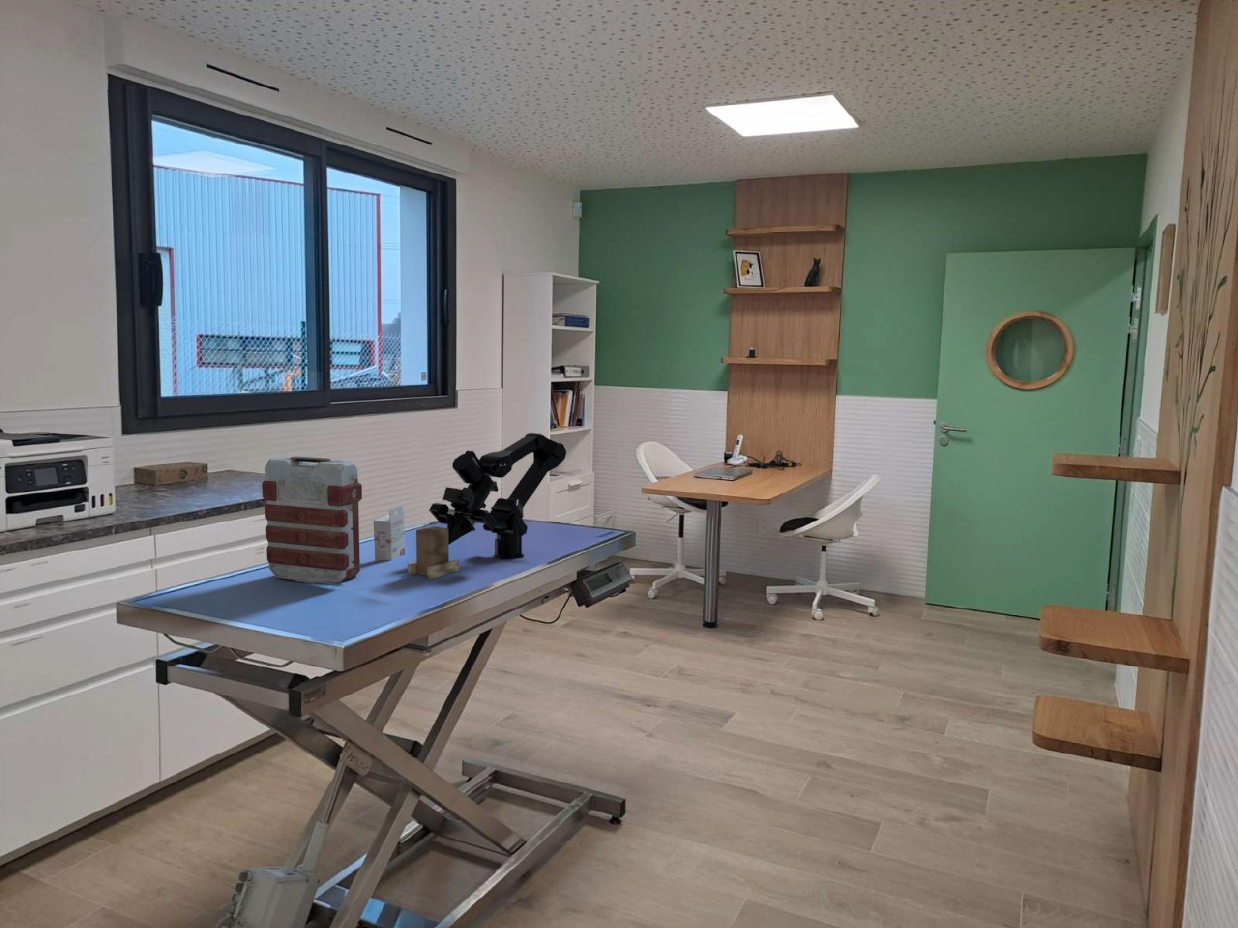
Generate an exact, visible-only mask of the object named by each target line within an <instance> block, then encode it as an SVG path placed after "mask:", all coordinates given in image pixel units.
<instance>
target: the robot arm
mask: <svg viewBox="0 0 1238 928" xmlns="http://www.w3.org/2000/svg"><path fill="white" fill-rule="evenodd" d="M530 454H533V455H532V459H533V461H532V463H531V465H530V467H529V468H528V469H527V471H526V472H525V473H524V475H523V476H522V478H521V479H520V480H519V482H518V483H517V484H516V486H515V487H514V489H513V491H512V492H511V493H510V495H508V497H507V498H502V497H499V498H498V499H496V500H495V502H494V504H493V505H492V507H491V506H490V507H491V508H490V511H488V510H487V509H485V508H486V507H487V504H486V503H485V502H486V501H487V500H488V499H487V498H488V497H489V495H490V494H491V492H494V493H497V492H499V487H498V482H497V481H495V480H493V479H492V478H498V479H499V478H500V479H502V478H505V477H506V476H507V474H508V473H510V472H511V471H512V470H513V469H512V468H513V466H514V464H515V463H518V462H519V461H521V460H522V459H523V458H525V457H527V456H529V455H530ZM566 456H567V450H566V448H565V446H564V444H563V443H561V442H558V441H555V440H553V439H551V438H548V437H546V436H545V435H543V434H541V433H535V432H529V433H526V434H525V436H523V437H521V438H520V439H519V440H516V441H515V442H514V443H512V444H510V445H509V446H506V447H505V448H504V449H502V450H499V451H493V452H489V453H485V454H483V455H481V456H480V458H478V457H477V455H476V453H475V452H474V451H473V450H466V451H465V453H462V454H460V455H459V456H457V457H456V458H454V460H453V462H452V464H451V465H452V469H453V470H454V472H456V474H457V475H458V477H460V479H461V480H462V482H463V483H464V484H468V486H467V487H463V488H462V489H461V488H454V487H447V486H446V487H445V489H444V492H443V496H442V500H443V501H447V502H449V503H450V507H451V508H449V506H448V505H447V504H446V503H445V504H444V503H439V502H434V503H432V505H430V506H429V507H430V508H429V509H428V511H429V512H430V513H431V515H432V516H433V517H434V518H435V519H436V520H437V522H439V524H443V525H447V526H446V528H448V546H450V545H451V544H452V543H454V542H455V541H457V540H459V539H461V538H463V536H465V535H468V534H469V533H471V532H475V530H476V528H475V527H476V525H477V524H478V523H480V524H483V525H482V528H483V530H484V531H488V532H491V533H493V534H496V538H494V555H496V556H497V557H499V558H500V559H509V558H510V559H513V558H522V557H525V554H524V553H523V537H524V535H527V531H528V528H529V526H528V525H527V523H526V521H524V520H523V518H524V507H525V506H526V504H527V503H528V502H529V500H530V499H531V497H532V496H533V495H534V493H535V492H536V490H537V488H538V487H539V485H540V484H541V482H542V481H544V478H546V477H545V476H546V475H547V474H548V473H549V472H550V471H552V470H554V469H556V468H558V467H559V466H560V465H561V464H562V463H563V461H564V460H565V458H566Z"/></svg>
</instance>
